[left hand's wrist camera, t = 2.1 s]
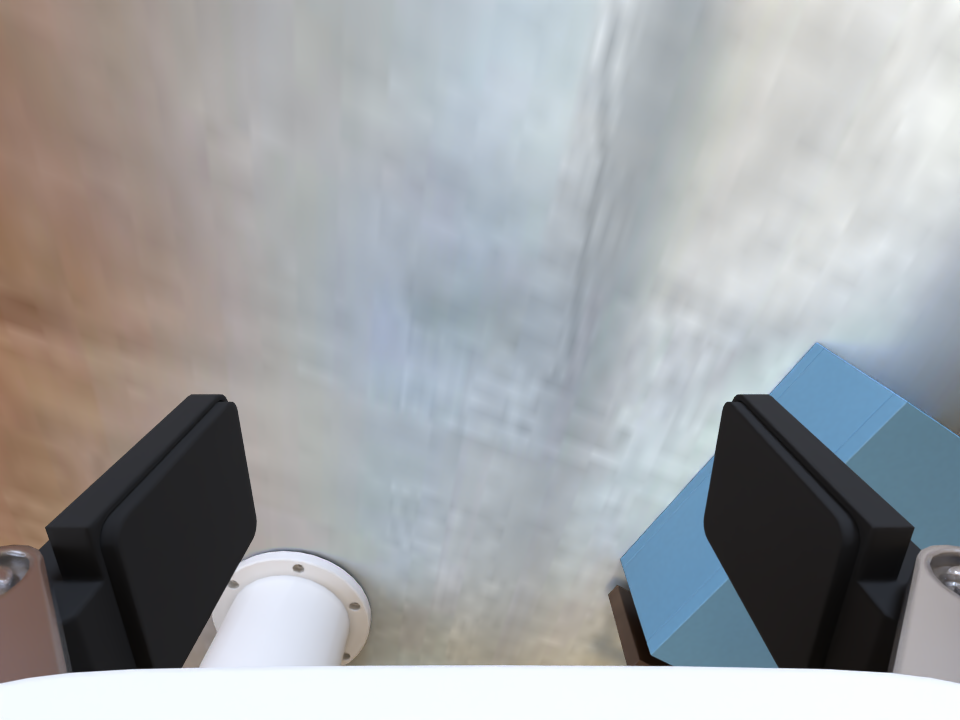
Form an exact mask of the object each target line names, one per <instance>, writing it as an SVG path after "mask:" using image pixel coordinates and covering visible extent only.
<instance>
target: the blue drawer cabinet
mask: <svg viewBox="0 0 960 720" xmlns="http://www.w3.org/2000/svg"><path fill="white" fill-rule="evenodd" d="M769 395H770V396H772V397H773V398H774V399H775V400H776V401H777V402H778V403H780V404H781V405H782V406H783V407H784V408H785V409H786V410H787V411H788V412H789V413H790V414H792V415H793V416H794V417H795V418H796V419H797V420H798V421H799V422H800V423H801V424H802V425H804V426H805V427H806V428H807V429H808V430H809V431H810V432H811V433H812V434H813V435H814V436H816V437H817V438H818V439H819V440H820V441H821V442H822V443H823V444H824V445H825V446H826V447H828V448H829V449H830V450H831V451H832V452H833V453H834V454H835V455H836V456H837V457H838V458H840V459H841V460H842V461H843V462H844V463H845V464H846V465H847V466H848V467H849V468H850V469H852V470H853V471H854V472H855V473H856V474H857V475H858V476H859V477H860V478H861V479H862V480H864V481H865V482H866V483H867V484H868V485H869V486H870V487H871V488H872V489H873V490H874V491H876V492H877V493H878V494H879V495H880V496H881V497H882V498H883V499H884V500H885V501H886V502H888V503H889V504H890V505H891V506H892V507H893V508H894V509H895V510H896V511H897V512H898V513H900V514H901V515H902V516H903V517H904V518H905V519H906V520H907V521H908V522H909V523H910V524H912V525H913V526H914V527H915V529H914V532H913V534H912V537H911V541H912V542H913V543H914V544H915V545H917V546H918V547H919V548H920V549H921V550H922V549H924V548H927V547H929V546H934V545H952V546H959V547H960V437H959V436H958V435H956V434H955V433H953V432H952V431H950V430H949V429H947V428H946V427H944V426H943V425H941V424H940V423H939V422H937V421H936V420H934V419H933V418H931V417H930V416H928V415H927V414H925V413H924V412H922V411H921V410H920V409H918V408H917V407H915V406H914V405H912V404H911V403H909V402H908V401H906V400H905V399H903V398H902V397H900V396H899V395H897V394H895V393H894V392H892V391H891V390H889V389H888V388H886V387H885V386H883V385H882V384H880V383H879V382H877V381H876V380H874V379H872V378H871V377H869V376H868V375H866V374H865V373H863V372H862V371H860V370H859V369H857V368H856V367H854V366H852V365H851V364H849V363H848V362H846V361H845V360H843V359H842V358H840V357H839V356H837V355H836V354H834V353H832V352H831V351H829V350H828V349H826V348H825V347H823V346H822V345H820V344H819V343H816V344H815V345H814V346H813V347H812V348H811V349H810V350H809V351H808V352H807V354H806V355H805V356H804V357H803V358H802V359H801V360H800V361H799V362H798V364H797V365H796V366H795V367H794V368H793V369H792V370H791V371H790V372H789V373H788V375H787V376H786V377H785V378H784V379H783V380H782V381H781V382H780V383H779V385H778V386H777V387H776V388H775V389H774V390H773V391H772V392H771V393H770V394H769ZM714 456H715V455H714ZM714 456H713V457H712V458H711V460H710V461H709V462H708V463H707V464H706V465H705V466H704V467H703V468H702V470H701V471H700V472H699V473H698V474H697V475H696V476H695V477H694V478H693V479H692V481H691V482H690V483H689V484H688V485H687V486H686V487H685V488H684V489H683V491H682V492H681V493H680V494H679V495H678V496H677V497H676V498H675V499H674V500H673V502H672V503H671V504H670V505H669V506H668V507H667V508H666V509H665V510H664V511H663V513H662V514H661V515H660V516H659V517H658V518H657V519H656V520H655V521H654V523H653V524H652V525H651V526H650V527H649V528H648V529H647V530H646V531H645V532H644V534H643V535H642V536H641V537H640V538H639V539H638V540H637V541H636V542H635V543H634V545H633V546H632V547H631V548H630V549H629V550H628V551H627V552H626V553H625V555H624V556H623V557H622V558H621V559H620V560H621V563H622V566H623V568H624V569H623V570H624V573H625V576H626V579H627V582H628V585H629V588H630V592H631V595H632V598H633V601H634V604H635V607H636V610H637V614H638V617H639V620H640V623H641V626H642V629H643V632H644V636H645V639H646V641H647V645H648V648H649V651H650V654H651V655H652V656H654V657H656V658H658V659H660V660H662V661H664V662H666V663H668V664H670V665H672V666H689V667H741V668H778V666H777V664H776V663H775V661H774V659H773V657H772V655H771V654H770V652H769V650H768V648H767V646H766V645H765V643H764V641H763V639H762V637H761V636H760V634H759V632H758V630H757V628H756V626H755V625H754V623H753V621H752V619H751V617H750V616H749V614H748V612H747V610H746V608H745V607H744V605H743V603H742V601H741V599H740V598H739V596H738V594H737V592H736V590H735V589H734V587H733V585H732V583H731V581H730V580H729V578H728V576H727V574H726V572H725V570H724V569H723V567H722V565H721V563H720V561H719V560H718V558H717V556H716V554H715V552H714V551H713V549H712V547H711V545H710V543H709V542H708V540H707V538H706V535H705V532H704V523H703V520H704V513H705V507H706V502H707V496H708V490H709V484H710V479H711V473H712V467H713V462H714Z"/></svg>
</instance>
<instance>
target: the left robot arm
mask: <svg viewBox="0 0 960 720" xmlns="http://www.w3.org/2000/svg"><path fill="white" fill-rule="evenodd" d="M256 523H257V520H256V513H255V507H254V502H253V496H252V490H251V484H250V479H249V473H248V467H247V462H246V456H245V450H244V444H243V439H242V433H241V427H240V422H239V416H238V410H237V407H236V405H235V403H233V402H228V401H227V399H226V397H225V396H224V395H220V394H191V395H190V396H188V397H187V398H186V399H185V400H184V401H183V402H182V403H180V404H179V405H178V406H177V407H176V408H175V409H174V410H173V411H172V412H171V413H170V414H168V415H167V416H166V417H165V418H164V419H163V420H162V421H161V422H160V423H159V424H158V425H156V426H155V427H154V428H153V429H152V430H151V431H150V432H149V433H148V434H147V435H146V436H144V437H143V438H142V439H141V440H140V441H139V442H138V443H137V444H136V445H135V446H134V447H132V448H131V449H130V450H129V451H128V452H127V453H126V454H125V455H124V456H123V457H122V458H120V459H119V460H118V461H117V462H116V463H115V464H114V465H113V466H112V467H111V468H110V469H108V470H107V471H106V472H105V473H104V474H103V475H102V476H101V477H100V478H99V479H98V480H96V481H95V482H94V483H93V484H92V485H91V486H90V487H89V488H88V489H87V490H86V491H84V492H83V493H82V494H81V495H80V496H79V497H78V498H77V499H76V500H75V501H74V502H72V503H71V504H70V505H69V506H68V507H67V508H66V509H65V510H64V511H63V512H62V513H60V514H59V515H58V516H57V517H56V518H55V519H54V520H53V521H52V522H51V523H50V524H48V525H47V526H46V527H45V529H46V532H47V534H48V537H49V541H48V542H47V543H46V544H45V545H43V546H42V547H41V548H40V549H39V550H38V549H36V548H33V547H31V546H26V545H8V546H1V547H0V720H960V547H959V546H952V545H934V546H929V547H927V548H924V549H922V550H921V549H920V548H919V547H918V546H917V545H915V544H914V543H913V542H912V541H911V537H912V534H913V532H914V529H915V527H914V526H913V525H912V524H910V523H909V522H908V521H907V520H906V519H905V518H904V517H903V516H902V515H901V514H900V513H898V512H897V511H896V510H895V509H894V508H893V507H892V506H891V505H890V504H889V503H888V502H886V501H885V500H884V499H883V498H882V497H881V496H880V495H879V494H878V493H877V492H876V491H874V490H873V489H872V488H871V487H870V486H869V485H868V484H867V483H866V482H865V481H864V480H862V479H861V478H860V477H859V476H858V475H857V474H856V473H855V472H854V471H853V470H852V469H850V468H849V467H848V466H847V465H846V464H845V463H844V462H843V461H842V460H841V459H840V458H838V457H837V456H836V455H835V454H834V453H833V452H832V451H831V450H830V449H829V448H828V447H826V446H825V445H824V444H823V443H822V442H821V441H820V440H819V439H818V438H817V437H816V436H814V435H813V434H812V433H811V432H810V431H809V430H808V429H807V428H806V427H805V426H804V425H802V424H801V423H800V422H799V421H798V420H797V419H796V418H795V417H794V416H793V415H792V414H790V413H789V412H788V411H787V410H786V409H785V408H784V407H783V406H782V405H781V404H780V403H778V402H777V401H776V400H775V399H774V398H773V397H772V396H770V395H769V394H740V395H736V396H735V397H734V399H733V401H732V402H727V403H725V405H724V407H723V410H722V416H721V422H720V427H719V433H718V439H717V444H716V450H715V456H714V462H713V467H712V473H711V479H710V484H709V490H708V496H707V502H706V507H705V513H704V520H703V523H704V532H705V535H706V538H707V540H708V542H709V543H710V545H711V547H712V549H713V551H714V552H715V554H716V556H717V558H718V560H719V561H720V563H721V565H722V567H723V569H724V570H725V572H726V574H727V576H728V578H729V580H730V581H731V583H732V585H733V587H734V589H735V590H736V592H737V594H738V596H739V598H740V599H741V601H742V603H743V605H744V607H745V608H746V610H747V612H748V614H749V616H750V617H751V619H752V621H753V623H754V625H755V626H756V628H757V630H758V632H759V634H760V636H761V637H762V639H763V641H764V643H765V645H766V646H767V648H768V650H769V652H770V654H771V655H772V657H773V659H774V661H775V663H776V664H777V666H778V668H741V667H689V666H518V665H442V666H345V665H346V664H348V663H350V662H351V661H352V660H353V659H354V658H355V657H356V656H357V655H358V654H359V653H360V651H361V650H362V648H363V647H364V645H365V643H366V641H367V638H368V635H369V630H370V625H371V609H370V605H369V602H368V598H367V597H366V595H365V593H364V591H363V589H362V588H361V587H360V585H359V584H358V583H357V582H356V581H355V579H354V578H353V577H352V576H350V575H349V574H348V573H347V572H345V571H344V570H343V569H342V568H340V567H338V566H337V565H335V564H333V563H331V562H330V561H327V560H325V559H322V558H320V557H317V556H314V555H310V554H305V553H301V552H290V551H278V552H267V553H263V554H259V555H255V556H253V557H251V558H248V559H246V560H244V561H242V562H240V561H241V560H242V558H243V556H244V554H245V552H246V551H247V549H248V547H249V545H250V543H251V542H252V540H253V538H254V535H255V532H256ZM211 614H212V618H213V624H214V626H215V628H216V631H217V634H216V636H215V638H214V639H213V641H212V643H211V645H210V647H209V649H208V651H207V653H206V655H205V657H204V659H203V661H202V662H201V664H200V666H199V668H182V666H183V664H184V663H185V661H186V659H187V657H188V655H189V654H190V652H191V650H192V648H193V646H194V645H195V643H196V641H197V639H198V637H199V636H200V634H201V632H202V630H203V628H204V626H205V625H206V623H207V621H208V619H209V617H210V616H211Z"/></svg>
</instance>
